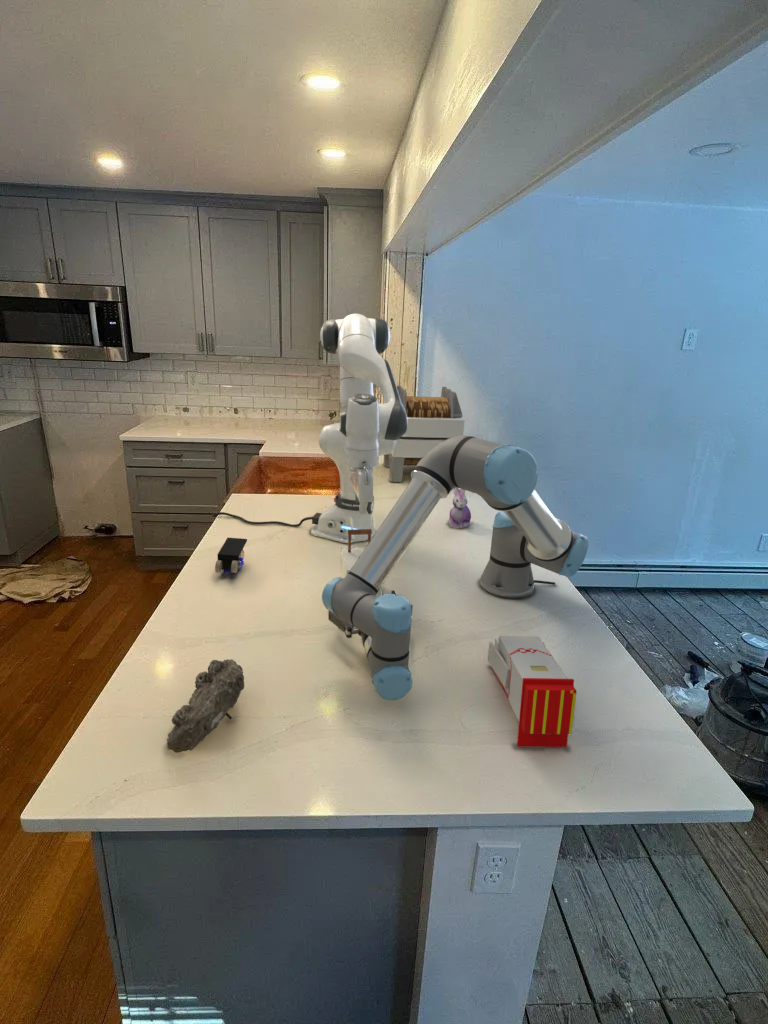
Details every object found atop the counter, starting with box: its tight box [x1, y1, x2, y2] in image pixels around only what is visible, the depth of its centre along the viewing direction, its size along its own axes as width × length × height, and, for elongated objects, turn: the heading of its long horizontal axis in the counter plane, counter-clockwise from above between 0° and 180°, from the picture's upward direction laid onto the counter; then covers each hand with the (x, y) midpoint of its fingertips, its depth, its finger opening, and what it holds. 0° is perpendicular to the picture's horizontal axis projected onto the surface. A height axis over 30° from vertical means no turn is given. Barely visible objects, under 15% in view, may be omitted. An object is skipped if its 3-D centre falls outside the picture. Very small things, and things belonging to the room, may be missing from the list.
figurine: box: [448, 487, 472, 529], centre depth 208 cm, size 9×10×15 cm
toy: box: [486, 635, 577, 748], centre depth 115 cm, size 12×13×30 cm
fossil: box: [166, 658, 245, 754], centre depth 106 cm, size 22×10×15 cm
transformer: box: [383, 384, 465, 483], centre depth 268 cm, size 34×33×41 cm
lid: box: [340, 529, 372, 574], centre depth 153 cm, size 14×10×8 cm, turn 10°
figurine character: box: [214, 537, 248, 578], centre depth 166 cm, size 7×8×15 cm
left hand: (360, 507), depth 154 cm, fingers open, 8 cm apart
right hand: (366, 596), depth 142 cm, fingers open, 13 cm apart
